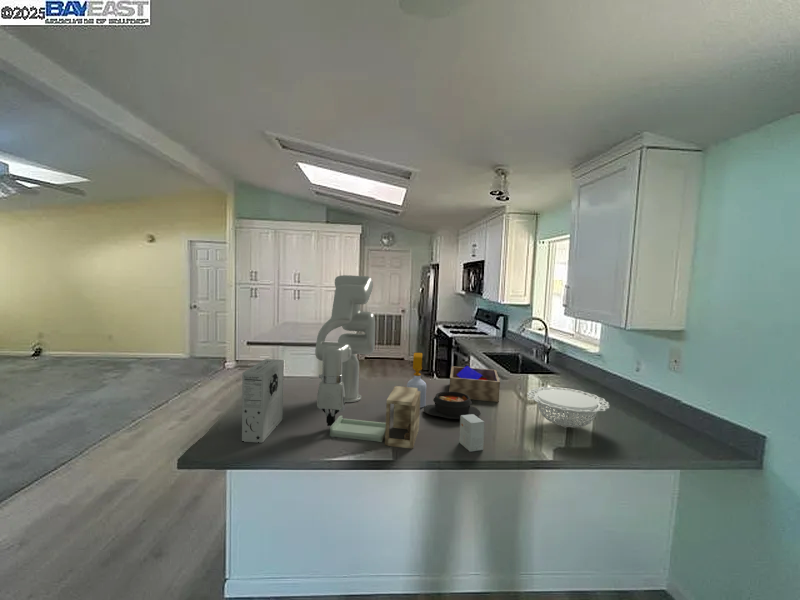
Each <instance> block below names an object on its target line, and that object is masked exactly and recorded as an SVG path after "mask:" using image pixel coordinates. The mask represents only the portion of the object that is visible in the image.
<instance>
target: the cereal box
mask: <svg viewBox="0 0 800 600" xmlns="http://www.w3.org/2000/svg"><path fill="white" fill-rule="evenodd" d="M241 376H242V379H241V381H242V385H241V387H242V391H241V392H242V393H241V400H242V401H241V442H242V441H244V442H243V443H258V442H259V443H261V444H262V443H264V441H265V440H266V439H267V438H268V437H269V436H270V435H271V433H272V432H273V431H275V429H276V428H277V427H278V426H279V424H280V423H281V422H282V421H283V417H284V415H283V410H284V408H283V407H284V405H283V404H284V359H275V358H274V359H272V358H270V359H269V358H265V359H264V360H262V361H260V362H258V363H257V364H255V365H253V366H252V367H250V368H248V369H246V370H245V371H243V372H242V375H241ZM276 426H277V427H276Z"/></svg>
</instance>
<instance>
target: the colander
mask: <svg viewBox="0 0 800 600" xmlns="http://www.w3.org/2000/svg"><path fill="white" fill-rule="evenodd" d="M526 394H527V396H528V398H529V399H530V400H533V401H534V402H535V403H537V408H538V410H539V412H540V414H541V416H542V417H543V418H544V419H546V420H547V421H548V422H551V423H553V424H555V425H558V426H561V427H562V428H581V427H585V426H587V425H589V424H591V422H593V421H594V420H595V418H596V417H597V413H599V412H606V411H607V410H609V409H610V407H611V406H610V403H609V401H606V399H605V398H603V397H599V396H598V395H596V394H593V393H589V392H585V391H582V390H577V389H573V388H569V387H567V388H565V387H560V386H559V387H558V386H553V387H552V386H541V387H537V388H536V387H533V388H532V389H531V388H530V389H528V391H527V393H526Z"/></svg>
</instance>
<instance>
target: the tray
mask: <svg viewBox="0 0 800 600" xmlns="http://www.w3.org/2000/svg"><path fill="white" fill-rule="evenodd" d="M385 429H386V422H380V421H379V422H378V421H370V420H364V419H363V420H361V419H351V418H343V415H339V416H338V417H337V418H336V419H335V422H334V423H333V424H332V425H331V426H329V437H334V438H335V437H336V438H342V439H343V438H344V439H352V440H353V439H354V440H362V441H371V442H380V443H383V441H384V440H385Z"/></svg>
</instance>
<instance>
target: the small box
mask: <svg viewBox="0 0 800 600" xmlns="http://www.w3.org/2000/svg"><path fill="white" fill-rule="evenodd" d="M484 439H485V421H484V420H482V419H481V418H480V417H479V416H475V415H474V414H470V415H461V416H460V419H459V441H458V443H460V445H462V447H464V448H465V449H466V450H468V452H477V451H483V450H484V444H485V443H484V442H485V441H484Z"/></svg>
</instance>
